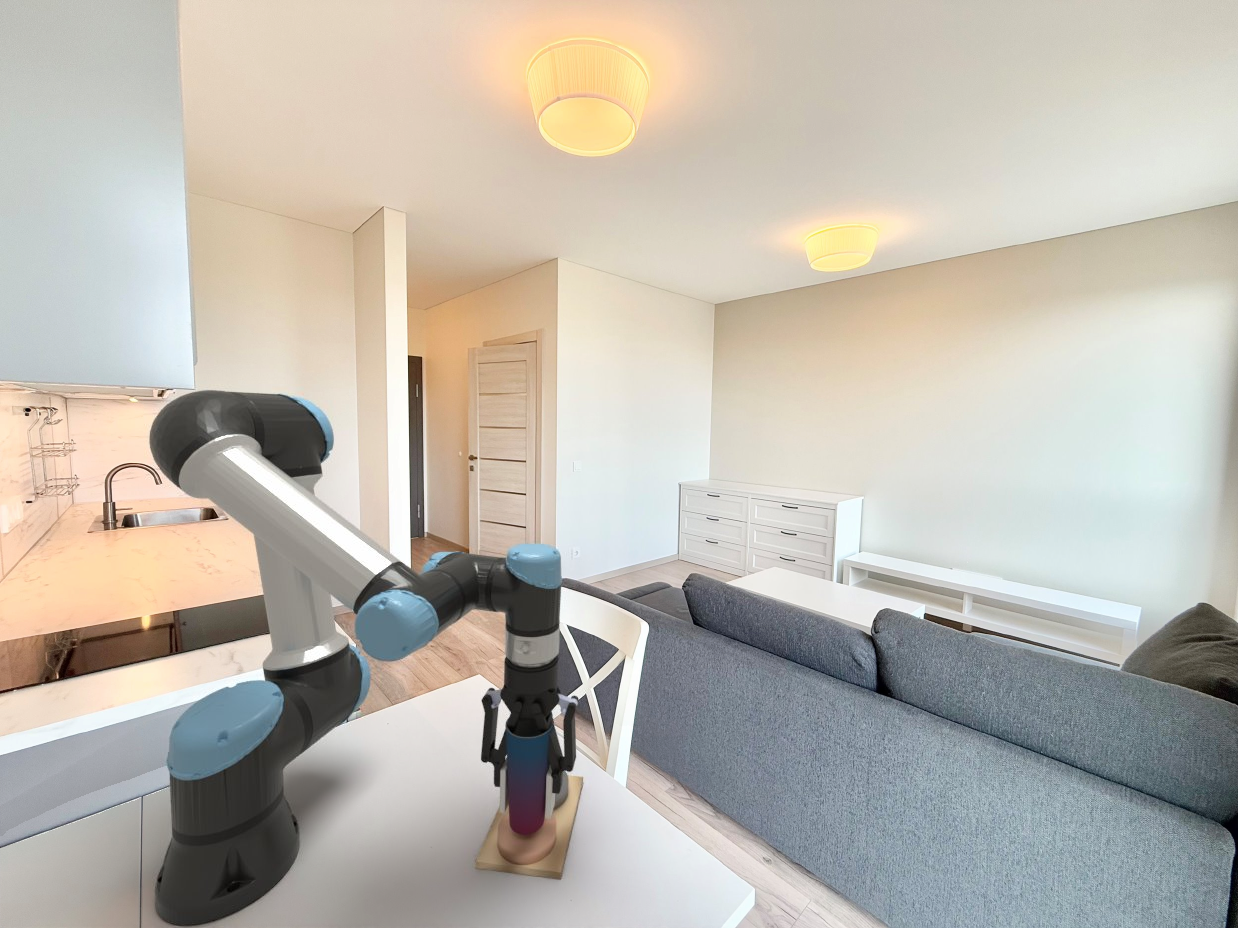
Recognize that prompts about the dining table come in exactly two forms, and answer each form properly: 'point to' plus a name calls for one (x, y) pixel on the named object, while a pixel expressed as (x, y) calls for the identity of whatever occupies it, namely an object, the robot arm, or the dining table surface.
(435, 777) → the dining table surface
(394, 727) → the dining table surface
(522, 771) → the cup
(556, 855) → the stand board
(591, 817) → the dining table surface
